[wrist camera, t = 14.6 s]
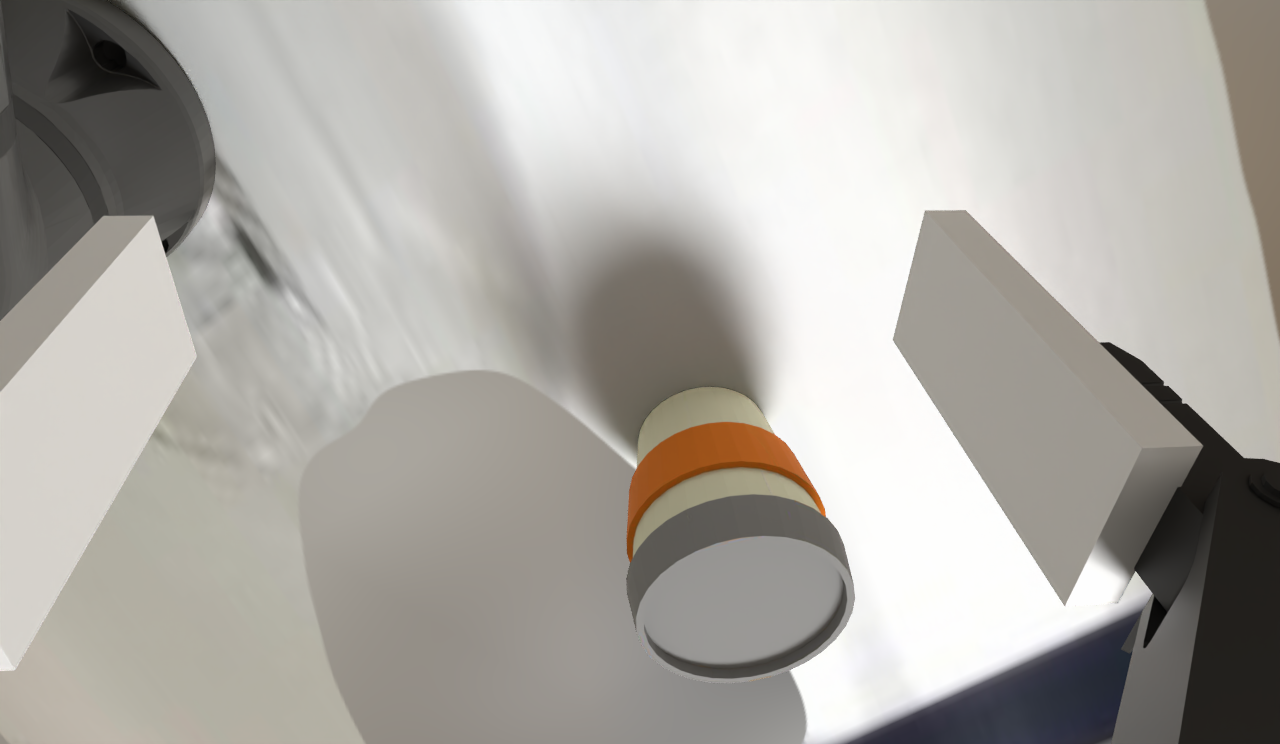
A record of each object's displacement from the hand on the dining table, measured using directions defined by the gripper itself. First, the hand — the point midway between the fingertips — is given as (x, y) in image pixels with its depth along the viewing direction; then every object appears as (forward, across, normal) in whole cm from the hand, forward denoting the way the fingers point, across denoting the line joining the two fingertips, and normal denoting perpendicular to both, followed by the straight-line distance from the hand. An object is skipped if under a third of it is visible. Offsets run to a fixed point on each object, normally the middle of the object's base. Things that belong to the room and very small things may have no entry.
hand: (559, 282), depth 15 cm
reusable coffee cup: (+31, +10, -29) cm, 44 cm away
